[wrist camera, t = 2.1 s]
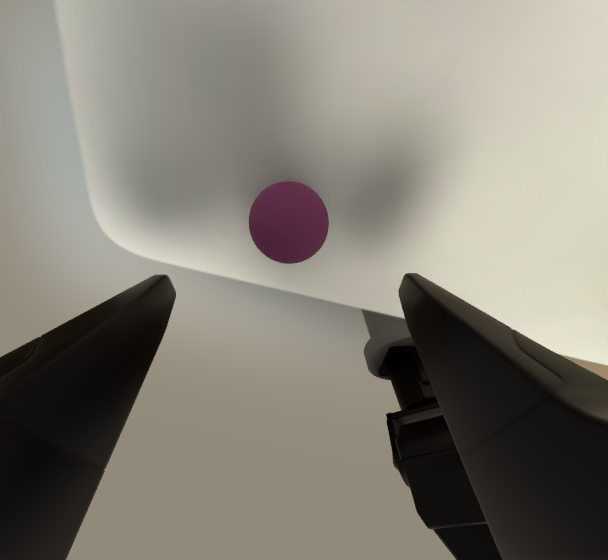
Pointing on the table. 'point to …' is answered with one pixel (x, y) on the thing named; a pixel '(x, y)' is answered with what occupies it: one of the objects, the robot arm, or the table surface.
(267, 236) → the ball
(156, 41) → the table surface
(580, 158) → the table surface
